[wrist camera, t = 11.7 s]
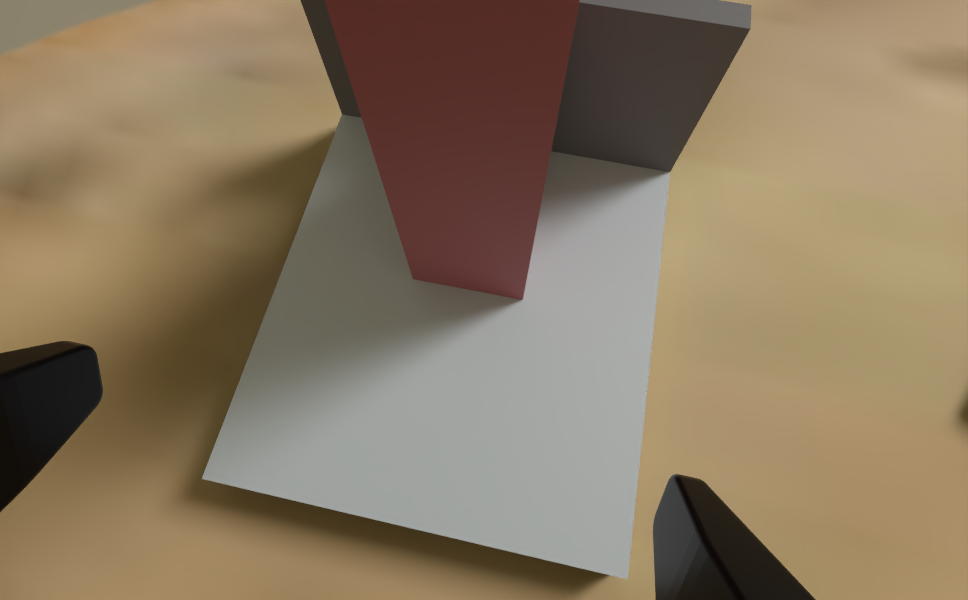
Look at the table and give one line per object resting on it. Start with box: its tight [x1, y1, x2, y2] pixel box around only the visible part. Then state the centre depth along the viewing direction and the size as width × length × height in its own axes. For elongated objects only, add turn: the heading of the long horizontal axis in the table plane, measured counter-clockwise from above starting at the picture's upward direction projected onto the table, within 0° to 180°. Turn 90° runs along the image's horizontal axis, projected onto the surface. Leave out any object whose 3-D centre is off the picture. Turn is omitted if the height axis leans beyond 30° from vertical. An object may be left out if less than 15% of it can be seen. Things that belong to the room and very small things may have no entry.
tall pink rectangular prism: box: [325, 0, 580, 300], centre depth 13 cm, size 5×4×11 cm
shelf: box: [202, 0, 751, 579], centre depth 15 cm, size 14×12×8 cm
